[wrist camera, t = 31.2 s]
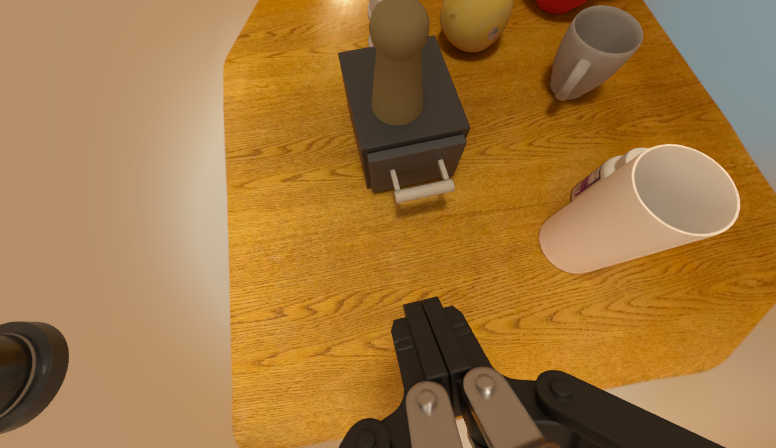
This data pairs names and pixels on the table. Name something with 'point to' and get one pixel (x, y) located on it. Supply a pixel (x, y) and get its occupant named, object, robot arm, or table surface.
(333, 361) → the table surface
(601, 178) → the pill bottle
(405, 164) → the drawer
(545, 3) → the ceramic cup
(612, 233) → the cup
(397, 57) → the pepper shaker
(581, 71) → the mug
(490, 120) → the table surface
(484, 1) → the fruit
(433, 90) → the small storage chest
